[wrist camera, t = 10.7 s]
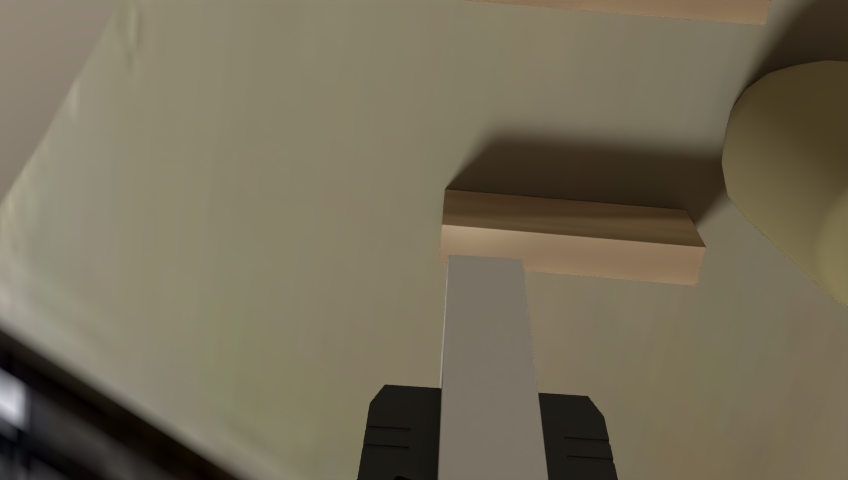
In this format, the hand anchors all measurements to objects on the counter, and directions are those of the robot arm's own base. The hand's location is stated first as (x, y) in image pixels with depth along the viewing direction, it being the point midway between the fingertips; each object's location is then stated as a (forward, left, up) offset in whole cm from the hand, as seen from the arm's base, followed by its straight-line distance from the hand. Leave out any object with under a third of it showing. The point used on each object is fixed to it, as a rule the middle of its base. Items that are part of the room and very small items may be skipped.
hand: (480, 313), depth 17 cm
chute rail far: (+8, +5, -23) cm, 25 cm away
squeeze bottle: (+3, +15, -23) cm, 27 cm away
